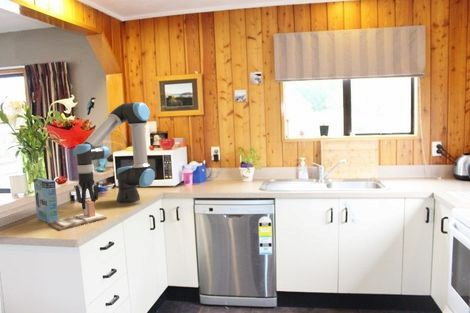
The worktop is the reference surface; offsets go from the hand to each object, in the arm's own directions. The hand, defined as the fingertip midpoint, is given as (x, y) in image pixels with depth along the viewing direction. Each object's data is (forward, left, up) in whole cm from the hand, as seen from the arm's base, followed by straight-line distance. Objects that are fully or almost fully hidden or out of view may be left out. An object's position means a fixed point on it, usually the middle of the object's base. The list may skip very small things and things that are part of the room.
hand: (89, 213), depth 203 cm
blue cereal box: (+15, -20, -3) cm, 25 cm away
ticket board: (+7, 0, -3) cm, 7 cm away
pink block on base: (0, 0, -2) cm, 2 cm away
